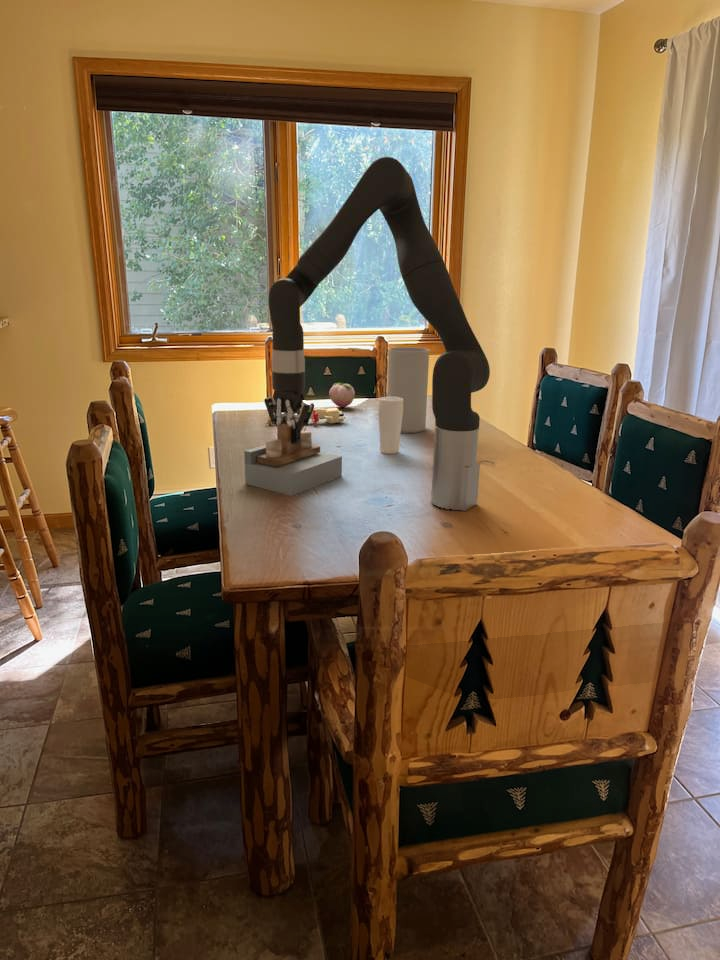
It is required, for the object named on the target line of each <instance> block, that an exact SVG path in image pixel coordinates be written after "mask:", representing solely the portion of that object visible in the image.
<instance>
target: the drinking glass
mask: <svg viewBox="0 0 720 960" xmlns="http://www.w3.org/2000/svg"><path fill="white" fill-rule="evenodd" d="M377 407H378V409H377V410H378V411H377V414H378V431H379V451H380V452H381V453H382V454H384V455H385V454H386V455H394V454H398V453H399V451H400V444H401V443H400V441H401V434H402V433H401V426H402V418H403V399H402V398H400V397H387V396H381V397H379V398H378V406H377Z"/></svg>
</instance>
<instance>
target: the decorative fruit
mask: <svg viewBox="0 0 720 960" xmlns="http://www.w3.org/2000/svg"><path fill="white" fill-rule="evenodd" d="M343 382H344V381H343V380H341V382H335V383H333V384H332V387H331V388H330V389H329V391H328V393H329V394H328V395H329V398H330V400H331V402H332V403H334V405H336V406H337V407H338V408H340V407H344V408H345V407H348V406H349V405H351V404H352V403H353V401H354V398H355V395H356V394H355V391H356V390H355V389H354V387H353V386H352V385H351V384H350V383H343Z"/></svg>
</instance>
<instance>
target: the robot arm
mask: <svg viewBox="0 0 720 960" xmlns="http://www.w3.org/2000/svg"><path fill="white" fill-rule="evenodd" d="M378 210H379V211H380V213H381V214H382V216H383V218H384V220H385V223H386V224H387V226H388V228H389V230H390V232H391V235H392V237H393V240H394V245H395V250H396V257H397V263H398V268H399V272H400V275H401V279H402V281H403V284H404V286H405V289H406V291H407V293H408V295H409V298H410V300H411V302H412V303H413V306H414V307H415V308H416V310H417V311H418V312H419V313H420V314H421V315H422V317H423V318H424V319H425V320H426V321H427V323H429V325H431V327H432V329H434V330H435V331H436V334H437V335H438V336H439V337H440V340H441V342H442V344H443V346H444V350H445V352H443V353H441V355H440V356H438V358H437V360H436V361H435V363H434V365H433V370H432V382H431V383H432V385H431V387H432V388H431V389H432V391H431V393H432V394H431V401H432V402H431V407H432V413H433V416H434V419H435V421H434V426H435V427H434V439H433V440H434V441H433V457H432V458H433V459H432V474H431V475H432V476H431V492H430V493H431V494H430V495H431V496H430V497H431V498H430V503H431V502H432V503H433V504H434V505H436V506H438V507H437V508H439V507H441V508H440V509H443V508H445V509H444V510H449V509H452V510H451V511H465V512H466V511H468V510H469V509H470V508H472V507H474V506H476V505H478V496H479V483H480V470H481V463H480V462H479V461H478V458H477V457H478V445H479V430H480V415H479V413H478V412H477V411H474V410H473V408H472V393H475V392H479V391H481V390H483V389H485V387H486V386H487V384H488V382H489V379H490V374H491V371H490V369H491V367H490V364H489V361H488V358H487V355H486V354H485V352H484V350H483V348H482V346H481V344H480V342H479V341H478V339H477V337H476V334H475V333H474V331H473V329H472V327H471V326H470V323H469V321H468V319H467V316H466V314H465V312H464V308H463V306H462V303H461V302H460V299H459V296H458V294H457V292H456V289H455V287H454V285H453V282H452V278H451V276H450V273H449V270H448V268H447V266H446V263H445V260H444V258H443V256H442V255H441V252H440V249H439V248H438V245H437V243H436V241H435V239H434V237H433V236H432V234H431V232H430V231H429V229H428V227H427V225H426V223H425V220H424V217H423V214H422V209H421V206H420V203H419V199H418V195H417V192H416V188H415V184H414V182H413V178H412V177H411V175H410V174H409V172H408V171H407V170H406V168H405V166H404V165H403V164H402V163H401V162H400V161H399V160H398V159H397V158H395V157H391V156H382V157H379V158H377V159H375V160H374V161H372V162H371V163H370V164H369V166H368V167H367V168H366V170H365V171H364V172H363V173H362V175H361V177H360V178H359V180H358V182H357V183H356V185H355V186H354V188H353V190H352V191H351V193H350V194H349V195H348V197H347V198H346V200H345V201H344V202H343V204H342V206H341V207H340V208H339V210H337V213H335V216H334V217H333V218H332V220H330V222H329V223H328V224H327V226H326V227H325V228H324V229H323V231H322V232H321V233H320V234H319V235H318V236H317V237H316V238H315V240H314V241H313V242H312V243H311V244H310V245H309V246H308V247H307V248H306V250H305V251H304V252H303V253H302V254H301V255H300V256H299V258H298V259H297V263H296V265H295V266H294V267H293V269H292V270H291V271H290V272H289V273H288V274H287V275H286V276H285V277H284V278H280V279H278V280H275V281H274V282H273V283H272V285H271V286H270V288H269V292H268V310H269V316H270V321H271V327H272V335H271V337H272V356H271V385H272V386H271V388H272V390H273V394H272V396H270V397H267V398H266V397H265V398H264V400H263V401H264V404H265V406H266V407H265V408H266V410H267V413H268V415H269V416H270V419H271V424H273V423H275V424H276V426H277V425H280V424H284V423H288V421H287V419H288V418H289V419H290V422H291V427H292V429H291V443H292V444H298V443H299V441H300V439H301V435H300V429H301V427H303V426H306V427H307V426H308V425H309V422H310V420H311V419H310V417H311V414H312V411H313V409H315V404H314V403H313V402H311V403H309V402H308V401H306V398H305V396H304V395H305V394H304V391H305V389H306V369H305V368H306V358H305V352H304V343H305V342H304V340H305V339H304V327H303V326H302V324H301V312H300V311H301V309H300V307H302V306H303V305H304V304H305V303H306V301H307V300H308V299H309V298H310V297H311V295H312V294H313V293H314V292H315V290H316V289H317V288H318V286H319V284H321V283H322V281H324V280H325V279H326V278H327V277H328V276H329V275H330V274H331V272H333V270H334V269H336V267H337V266H338V265H339V264H340V263H341V262H342V260H343V259H344V258H345V256H346V254H348V251H350V250H349V249H350V248H351V246H352V244H353V242H354V240H355V239H356V236H357V235H358V233H360V232H359V231H360V230H361V229H362V227H363V226H364V225H365V223H366V222H367V221H368V220H369V218H371V216H372V215H374V214H375V213H377V211H378ZM301 407H302V408H301ZM301 410H302V412H301ZM294 413H296V414H295V415H294ZM274 414H275V416H274ZM295 419H296V420H295ZM432 503H431V504H432ZM433 504H432V505H433ZM434 505H433V506H434ZM436 506H435V507H436Z"/></svg>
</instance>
